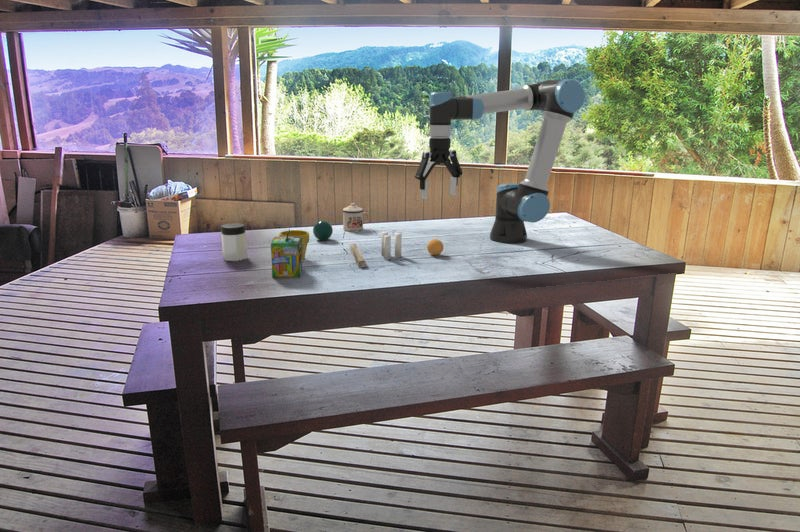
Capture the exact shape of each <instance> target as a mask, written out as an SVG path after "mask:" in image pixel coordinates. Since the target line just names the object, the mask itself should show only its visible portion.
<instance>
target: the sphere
mask: <svg viewBox="0 0 800 532" xmlns="http://www.w3.org/2000/svg"><path fill="white" fill-rule="evenodd" d="M312 232H313V236H314V237H315V238H316V239H317V240H318V241H327V240H329V239H330V238H331V237H332V235H333V225H332V224H331V223H330V222H328V221H326V220H319V221H317V222H316V223H315V224H314V226H313V228H312Z"/></svg>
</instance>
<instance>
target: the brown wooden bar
mask: <svg viewBox="0 0 800 532" xmlns="http://www.w3.org/2000/svg"><path fill="white" fill-rule="evenodd" d="M349 246H350V252H351V255H352V256H353V258H354V260H355V262H356V264H357V266H358V268H361V267H365V268H366V260H365V258H364V256H363V255H362V252H361V251H360V249H359V247H358V244H357V243H350V245H349ZM361 269H362V268H361Z"/></svg>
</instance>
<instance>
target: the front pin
mask: <svg viewBox="0 0 800 532" xmlns="http://www.w3.org/2000/svg"><path fill="white" fill-rule="evenodd" d="M402 235H403V234H402V233H401V232H400V233H399V232H398V233H397V232H396V233H395V234H394V258H398V257H399V258H402V243H403V242H402V239H403V237H402Z"/></svg>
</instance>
